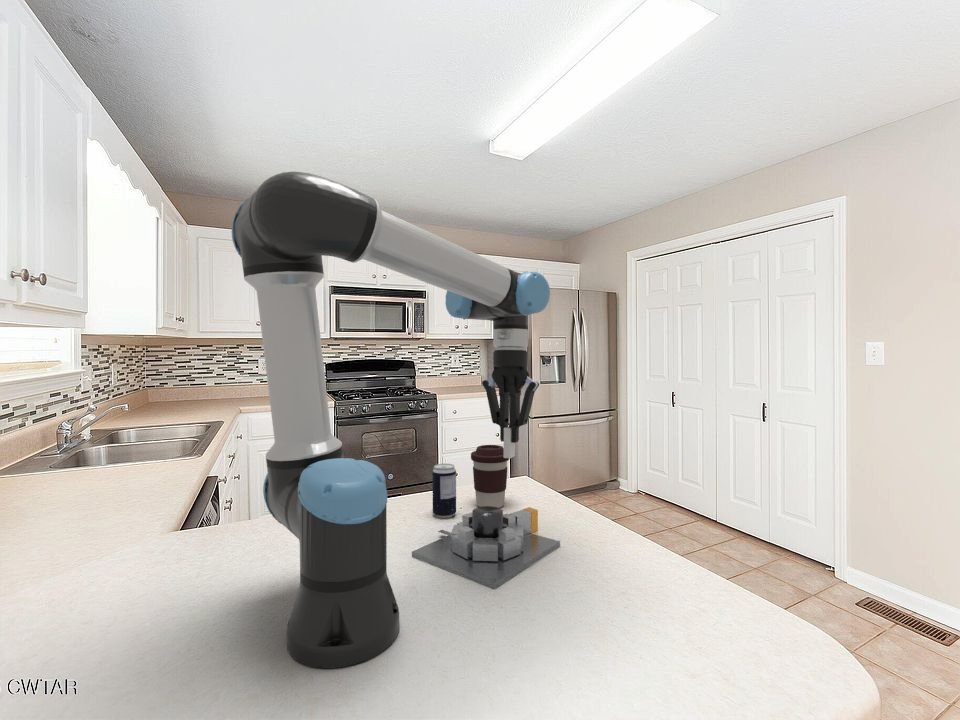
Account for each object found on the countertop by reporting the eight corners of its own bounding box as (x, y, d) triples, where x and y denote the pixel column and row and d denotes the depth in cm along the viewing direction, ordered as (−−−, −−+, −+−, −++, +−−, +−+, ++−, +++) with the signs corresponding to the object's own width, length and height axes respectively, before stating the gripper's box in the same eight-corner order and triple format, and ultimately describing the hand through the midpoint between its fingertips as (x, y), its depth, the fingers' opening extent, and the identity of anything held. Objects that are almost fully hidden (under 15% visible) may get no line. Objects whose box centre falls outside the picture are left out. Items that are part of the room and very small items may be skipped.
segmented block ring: (438, 544, 94) (438, 521, 94) (510, 520, 107) (510, 500, 107) (484, 568, 84) (484, 542, 84) (558, 538, 97) (558, 516, 97)
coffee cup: (465, 502, 125) (464, 445, 124) (498, 497, 129) (498, 442, 128) (481, 513, 116) (480, 452, 115) (516, 507, 120) (516, 448, 119)
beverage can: (457, 511, 117) (457, 463, 117) (454, 519, 111) (454, 469, 111) (435, 511, 118) (434, 462, 117) (430, 519, 112) (430, 468, 112)
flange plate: (494, 588, 79) (494, 541, 79) (401, 552, 93) (401, 512, 93) (564, 543, 97) (564, 504, 97) (477, 519, 112) (477, 485, 111)
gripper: (476, 348, 103) (474, 456, 103) (531, 348, 97) (530, 463, 97) (491, 349, 110) (490, 451, 110) (544, 349, 104) (543, 457, 104)
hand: (509, 456), depth 104 cm, fingers closed
